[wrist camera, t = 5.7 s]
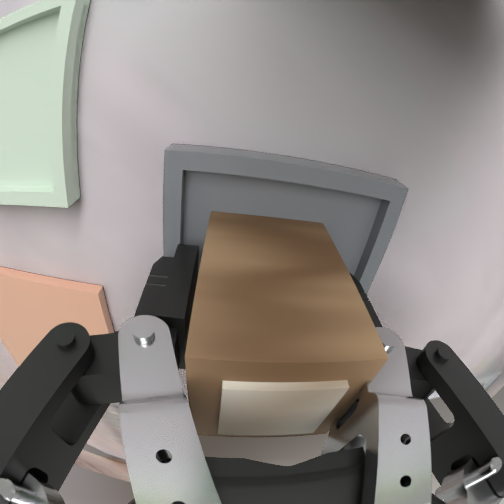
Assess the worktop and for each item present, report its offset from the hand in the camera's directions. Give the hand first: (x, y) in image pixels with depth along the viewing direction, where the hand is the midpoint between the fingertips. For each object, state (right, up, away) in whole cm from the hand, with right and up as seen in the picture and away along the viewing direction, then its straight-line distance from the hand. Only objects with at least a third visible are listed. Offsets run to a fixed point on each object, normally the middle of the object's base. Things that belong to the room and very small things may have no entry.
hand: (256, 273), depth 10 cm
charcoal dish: (+1, +1, +1) cm, 1 cm away
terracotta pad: (-13, -5, +4) cm, 15 cm away
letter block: (0, 0, +1) cm, 1 cm away
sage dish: (-10, +7, -3) cm, 13 cm away
